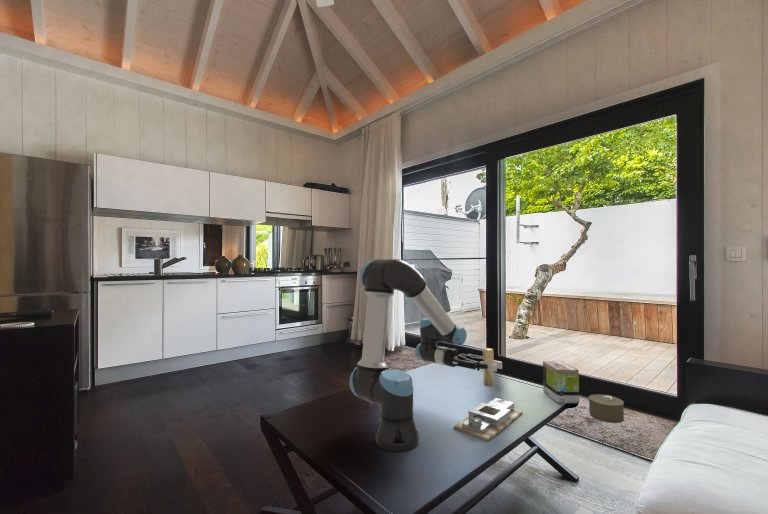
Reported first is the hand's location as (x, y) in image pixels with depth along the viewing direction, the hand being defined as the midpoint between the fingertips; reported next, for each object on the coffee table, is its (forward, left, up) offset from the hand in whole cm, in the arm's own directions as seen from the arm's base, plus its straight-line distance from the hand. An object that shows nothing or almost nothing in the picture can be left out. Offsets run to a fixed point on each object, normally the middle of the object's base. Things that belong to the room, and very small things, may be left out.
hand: (498, 366), depth 135 cm
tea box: (+44, -9, -22) cm, 50 cm away
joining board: (0, +4, -22) cm, 22 cm away
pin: (0, +4, -8) cm, 9 cm away
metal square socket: (0, +4, -22) cm, 22 cm away
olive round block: (+34, -29, -22) cm, 50 cm away
